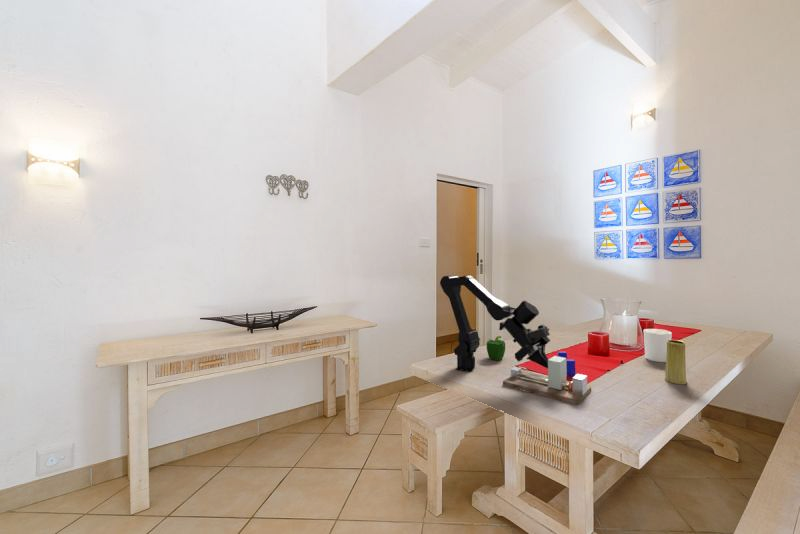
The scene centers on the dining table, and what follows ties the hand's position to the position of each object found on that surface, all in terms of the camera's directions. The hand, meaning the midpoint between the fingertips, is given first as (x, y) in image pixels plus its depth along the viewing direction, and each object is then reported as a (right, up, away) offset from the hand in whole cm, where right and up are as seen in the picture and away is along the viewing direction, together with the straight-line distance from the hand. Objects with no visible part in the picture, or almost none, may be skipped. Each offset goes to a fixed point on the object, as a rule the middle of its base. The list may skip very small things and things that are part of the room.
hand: (550, 368), depth 119 cm
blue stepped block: (+13, -7, +18) cm, 23 cm away
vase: (+46, -6, +4) cm, 47 cm away
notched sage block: (+2, -6, -1) cm, 6 cm away
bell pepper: (-9, -6, +35) cm, 37 cm away
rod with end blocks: (-1, -7, +1) cm, 7 cm away
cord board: (-1, -7, +1) cm, 8 cm away
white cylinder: (+58, -5, +29) cm, 65 cm away
